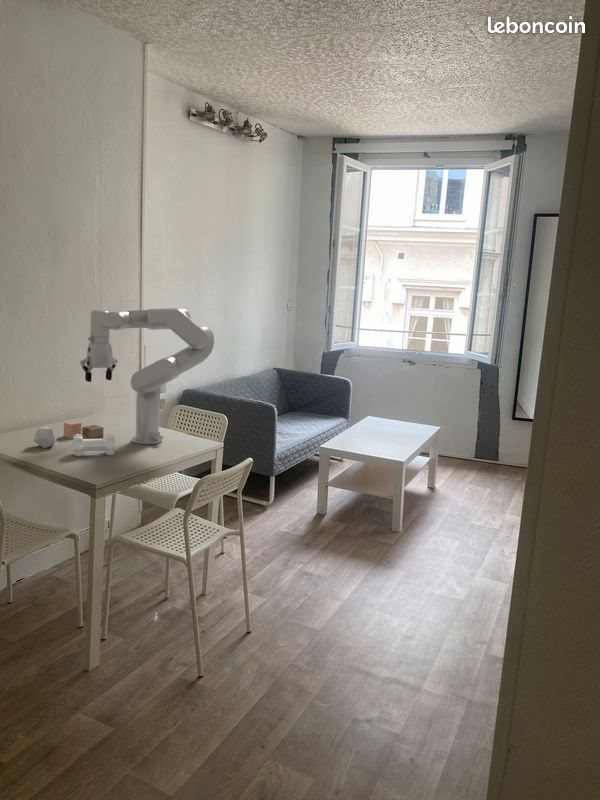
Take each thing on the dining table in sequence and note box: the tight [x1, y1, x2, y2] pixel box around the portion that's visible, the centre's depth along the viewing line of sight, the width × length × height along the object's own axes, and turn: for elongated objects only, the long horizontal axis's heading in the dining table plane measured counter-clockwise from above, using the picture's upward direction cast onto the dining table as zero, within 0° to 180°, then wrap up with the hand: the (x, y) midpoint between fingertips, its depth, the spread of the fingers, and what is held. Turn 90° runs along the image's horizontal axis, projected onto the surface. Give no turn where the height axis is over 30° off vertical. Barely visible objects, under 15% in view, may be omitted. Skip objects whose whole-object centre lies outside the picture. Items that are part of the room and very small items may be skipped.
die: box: [32, 425, 59, 449], centre depth 247 cm, size 8×9×10 cm
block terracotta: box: [63, 420, 82, 439], centre depth 265 cm, size 5×5×6 cm
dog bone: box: [72, 432, 116, 458], centre depth 241 cm, size 15×9×8 cm, turn 113°
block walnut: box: [81, 424, 104, 439], centre depth 260 cm, size 6×6×6 cm
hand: (98, 380), depth 263 cm, fingers open, 9 cm apart
